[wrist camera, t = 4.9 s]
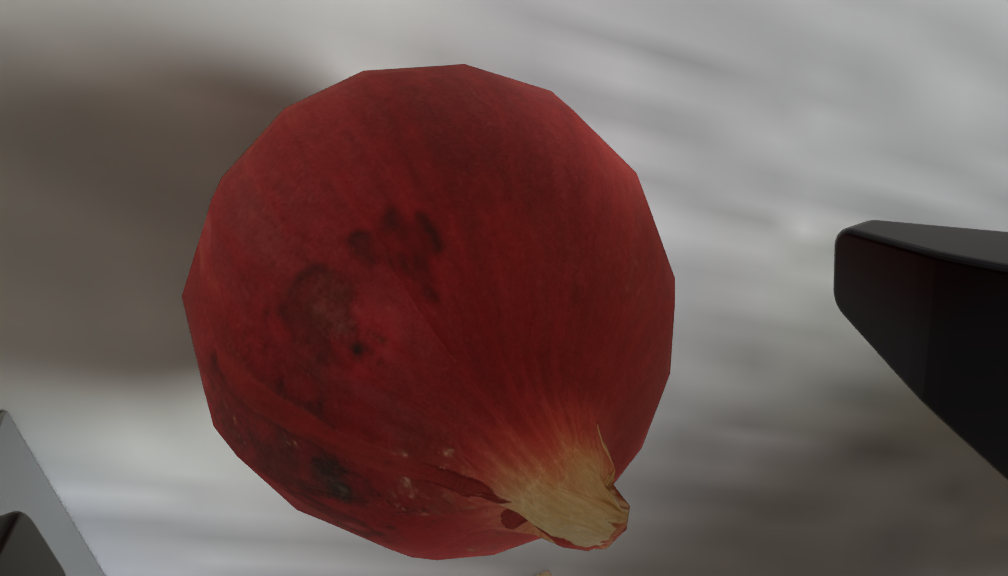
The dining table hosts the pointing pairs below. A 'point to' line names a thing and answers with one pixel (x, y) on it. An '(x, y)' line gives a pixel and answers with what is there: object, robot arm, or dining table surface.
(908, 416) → the dining table surface
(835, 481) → the dining table surface
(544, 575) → the beech block
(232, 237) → the onion
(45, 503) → the gray board
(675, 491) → the dining table surface
